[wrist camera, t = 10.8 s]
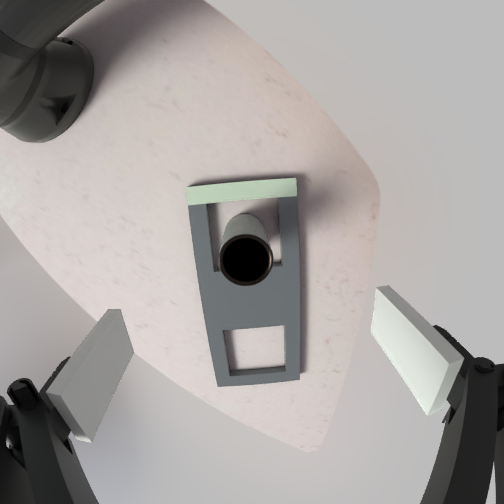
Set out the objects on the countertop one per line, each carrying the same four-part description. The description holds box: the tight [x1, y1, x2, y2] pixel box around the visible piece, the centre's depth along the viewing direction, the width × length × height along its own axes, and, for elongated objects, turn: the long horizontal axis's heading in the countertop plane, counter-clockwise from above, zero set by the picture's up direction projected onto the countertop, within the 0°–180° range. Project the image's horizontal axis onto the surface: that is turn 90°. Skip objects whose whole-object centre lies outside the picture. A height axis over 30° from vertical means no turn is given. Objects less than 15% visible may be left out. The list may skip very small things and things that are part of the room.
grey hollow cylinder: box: [218, 214, 273, 286], centre depth 28 cm, size 4×4×10 cm
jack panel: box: [186, 178, 300, 387], centre depth 35 cm, size 28×12×1 cm, turn 4°
